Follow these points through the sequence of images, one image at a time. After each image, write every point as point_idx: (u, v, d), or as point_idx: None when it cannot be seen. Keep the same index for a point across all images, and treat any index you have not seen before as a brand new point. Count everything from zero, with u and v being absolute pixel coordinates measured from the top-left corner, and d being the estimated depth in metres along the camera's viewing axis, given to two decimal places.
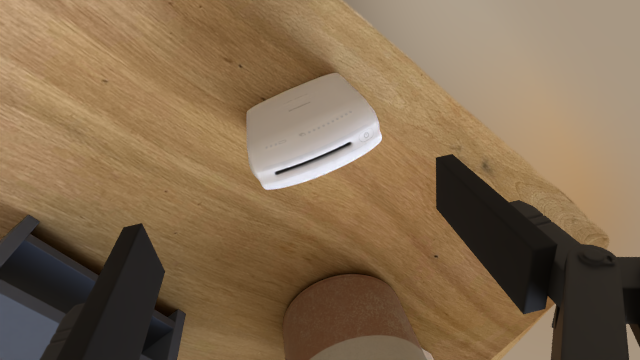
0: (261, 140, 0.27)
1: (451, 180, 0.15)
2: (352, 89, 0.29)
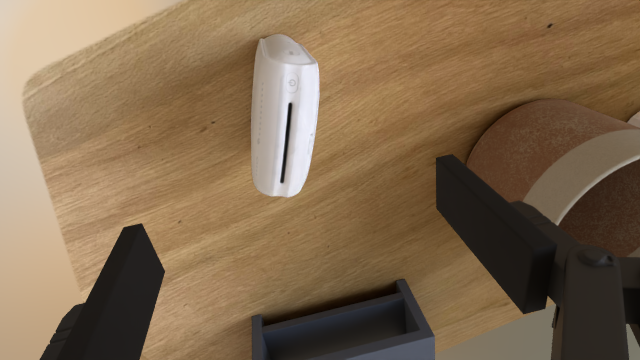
0: None
1: (451, 180, 0.15)
2: (260, 53, 0.26)
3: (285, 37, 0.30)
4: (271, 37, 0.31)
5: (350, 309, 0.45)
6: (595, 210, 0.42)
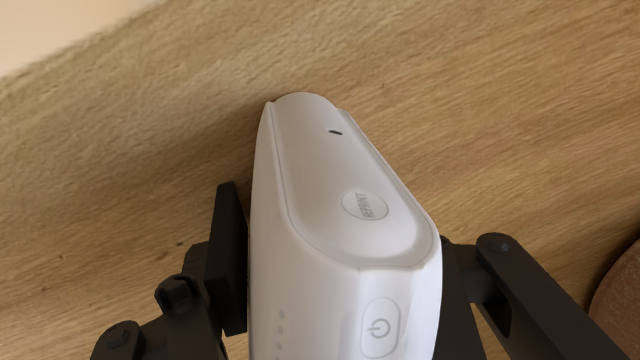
0: None
1: None
2: (270, 174, 0.10)
3: (319, 105, 0.15)
4: (289, 104, 0.15)
5: None
6: None
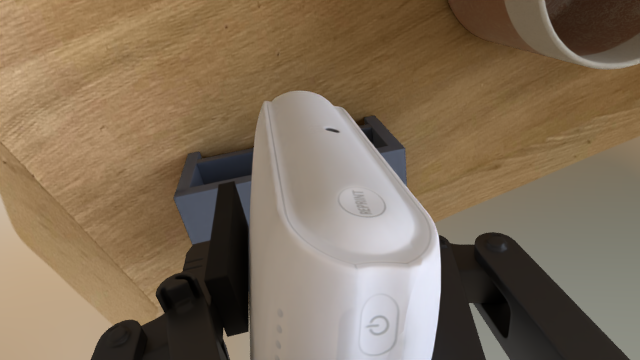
0: None
1: None
2: (267, 173, 0.10)
3: (316, 103, 0.15)
4: (286, 103, 0.15)
5: None
6: (605, 0, 0.34)
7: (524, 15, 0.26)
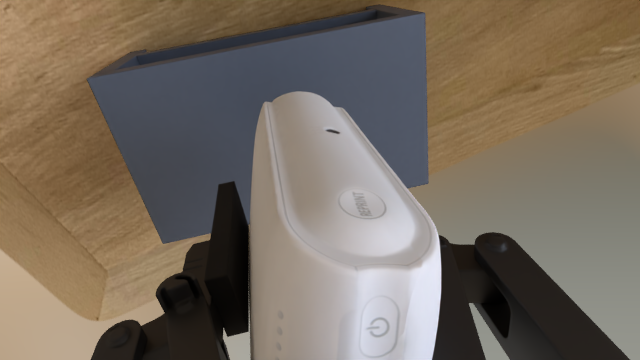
0: None
1: None
2: (267, 174, 0.10)
3: (316, 104, 0.15)
4: (287, 103, 0.15)
5: (287, 26, 0.27)
6: None
7: None
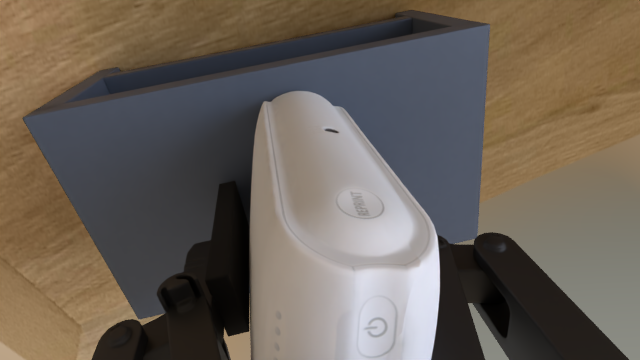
0: None
1: None
2: (266, 174, 0.10)
3: (315, 103, 0.15)
4: (286, 103, 0.15)
5: (298, 38, 0.21)
6: None
7: None
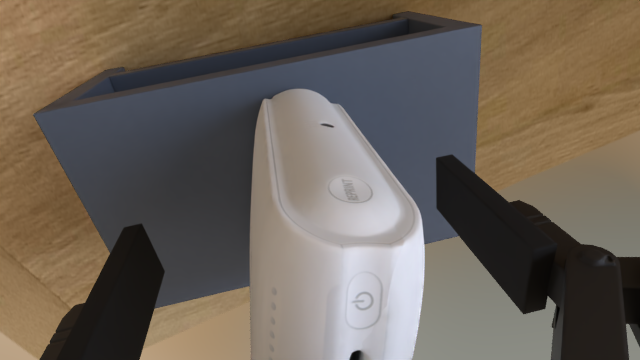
0: None
1: (451, 180, 0.15)
2: (264, 165, 0.11)
3: (313, 100, 0.15)
4: (285, 100, 0.15)
5: (298, 39, 0.22)
6: None
7: None
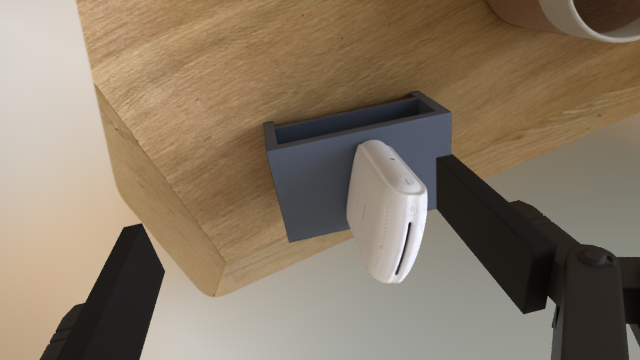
0: (368, 262, 0.34)
1: (451, 180, 0.15)
2: (375, 173, 0.34)
3: (382, 146, 0.38)
4: (370, 146, 0.38)
5: (364, 109, 0.45)
6: None
7: (552, 0, 0.33)
